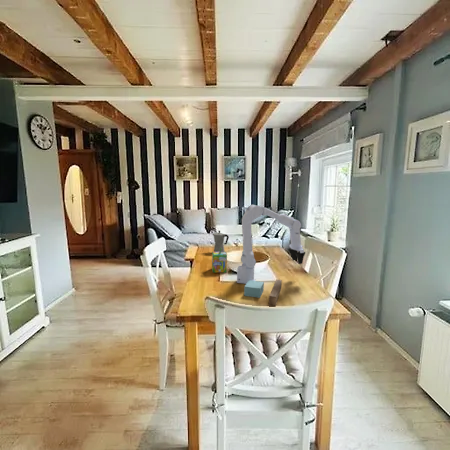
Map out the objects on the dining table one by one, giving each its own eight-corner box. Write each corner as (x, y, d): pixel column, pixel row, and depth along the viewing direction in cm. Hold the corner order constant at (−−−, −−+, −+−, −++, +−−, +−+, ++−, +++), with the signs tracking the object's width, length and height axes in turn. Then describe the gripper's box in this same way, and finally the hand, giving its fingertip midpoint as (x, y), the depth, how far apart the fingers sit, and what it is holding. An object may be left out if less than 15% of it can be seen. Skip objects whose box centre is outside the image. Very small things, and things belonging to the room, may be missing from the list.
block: (244, 296, 139) (244, 286, 138) (248, 289, 148) (248, 280, 148) (259, 298, 137) (260, 288, 136) (263, 291, 146) (263, 281, 145)
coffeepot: (209, 252, 226) (209, 230, 224) (215, 250, 234) (215, 229, 232) (225, 255, 218) (225, 232, 216) (231, 252, 226) (231, 231, 224)
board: (268, 305, 128) (269, 295, 128) (275, 287, 151) (276, 279, 150) (275, 306, 127) (275, 296, 127) (281, 288, 150) (281, 280, 149)
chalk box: (211, 268, 183) (212, 246, 181) (225, 268, 183) (226, 246, 181) (212, 273, 174) (212, 249, 171) (226, 272, 174) (227, 249, 172)
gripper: (308, 240, 155) (309, 263, 157) (296, 236, 169) (297, 257, 171) (296, 243, 154) (298, 266, 156) (285, 238, 168) (287, 259, 170)
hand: (297, 261), depth 163 cm, fingers open, 7 cm apart
